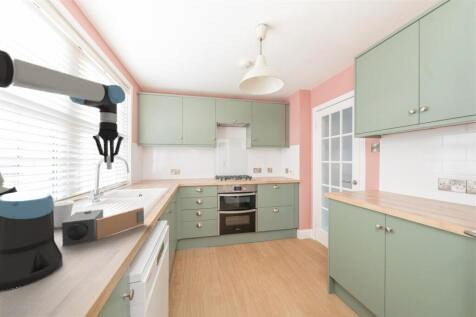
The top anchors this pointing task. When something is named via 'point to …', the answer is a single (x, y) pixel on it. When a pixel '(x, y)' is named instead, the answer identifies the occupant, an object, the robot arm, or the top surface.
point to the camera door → (119, 222)
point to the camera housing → (80, 227)
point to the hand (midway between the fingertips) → (109, 169)
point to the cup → (62, 212)
